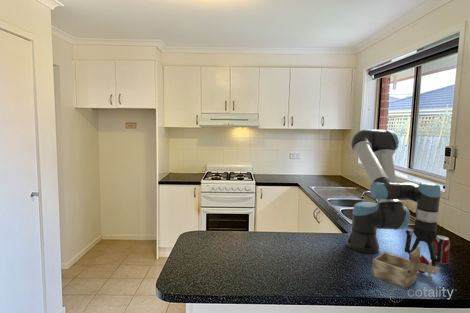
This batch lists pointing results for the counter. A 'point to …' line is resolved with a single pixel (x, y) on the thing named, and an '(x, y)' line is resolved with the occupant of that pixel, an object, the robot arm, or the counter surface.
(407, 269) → the wooden box
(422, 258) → the onion
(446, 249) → the soda can
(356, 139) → the robot arm
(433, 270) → the lid
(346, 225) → the counter surface
